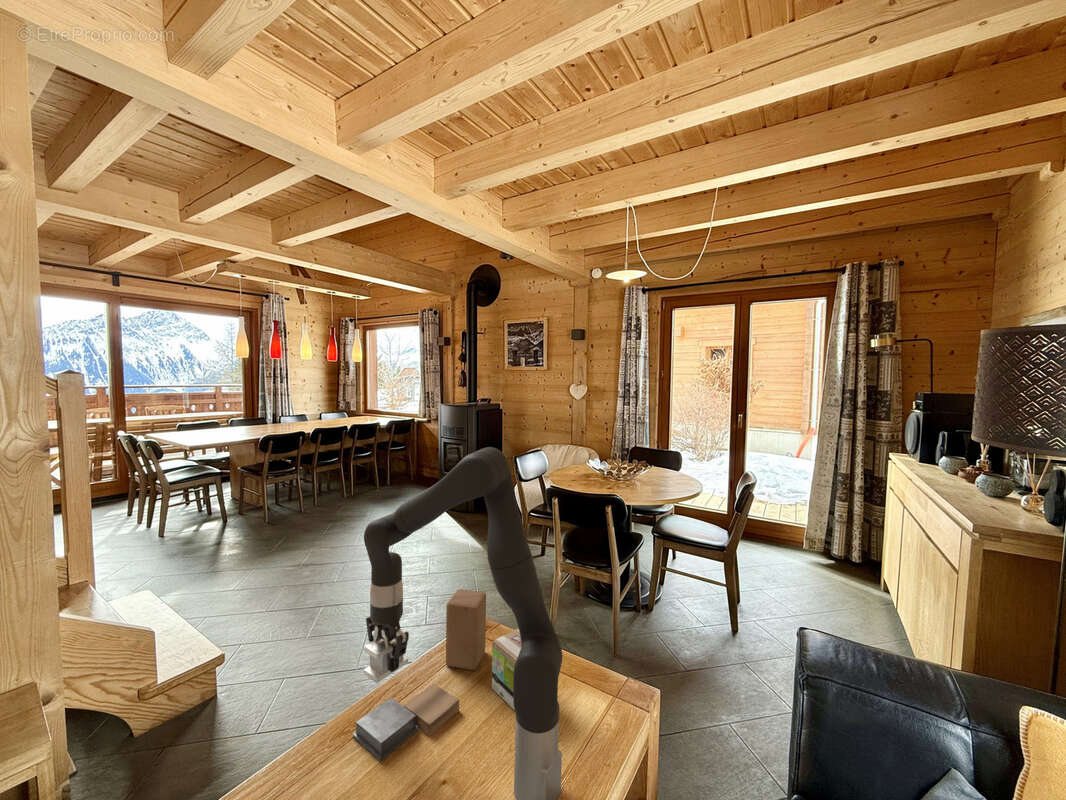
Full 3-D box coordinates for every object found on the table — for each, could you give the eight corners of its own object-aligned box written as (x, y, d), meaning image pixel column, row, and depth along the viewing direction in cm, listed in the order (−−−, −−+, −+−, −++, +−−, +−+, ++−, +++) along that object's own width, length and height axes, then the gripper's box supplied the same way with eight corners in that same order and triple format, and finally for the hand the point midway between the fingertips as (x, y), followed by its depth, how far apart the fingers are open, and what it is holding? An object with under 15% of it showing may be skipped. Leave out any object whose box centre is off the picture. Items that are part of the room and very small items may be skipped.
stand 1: (418, 730, 107) (418, 715, 107) (380, 762, 98) (380, 745, 98) (391, 709, 114) (391, 695, 113) (353, 737, 105) (352, 722, 104)
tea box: (490, 689, 122) (491, 639, 121) (517, 673, 128) (518, 626, 127) (524, 722, 110) (525, 667, 110) (552, 703, 117) (554, 651, 116)
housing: (376, 683, 100) (376, 654, 99) (364, 674, 103) (364, 646, 102) (408, 662, 107) (408, 635, 107) (395, 654, 110) (395, 628, 110)
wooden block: (475, 672, 128) (476, 607, 127) (444, 667, 130) (445, 603, 129) (486, 651, 138) (487, 591, 137) (456, 646, 140) (457, 587, 139)
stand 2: (458, 710, 114) (459, 699, 114) (429, 736, 106) (429, 724, 105) (433, 693, 120) (433, 683, 119) (403, 716, 111) (403, 705, 111)
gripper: (355, 594, 105) (355, 661, 106) (392, 615, 97) (392, 687, 98) (382, 582, 111) (381, 646, 112) (418, 601, 103) (418, 669, 104)
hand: (386, 664), depth 105 cm, fingers closed on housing, 5 cm apart
